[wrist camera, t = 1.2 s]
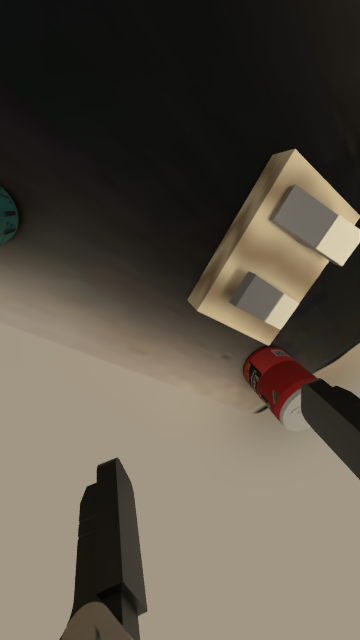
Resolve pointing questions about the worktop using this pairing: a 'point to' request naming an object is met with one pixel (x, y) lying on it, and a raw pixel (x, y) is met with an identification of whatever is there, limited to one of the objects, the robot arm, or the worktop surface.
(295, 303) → the switch
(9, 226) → the beverage bottle
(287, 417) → the canned food
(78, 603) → the robot arm
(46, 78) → the worktop surface
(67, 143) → the worktop surface
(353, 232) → the switch
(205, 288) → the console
